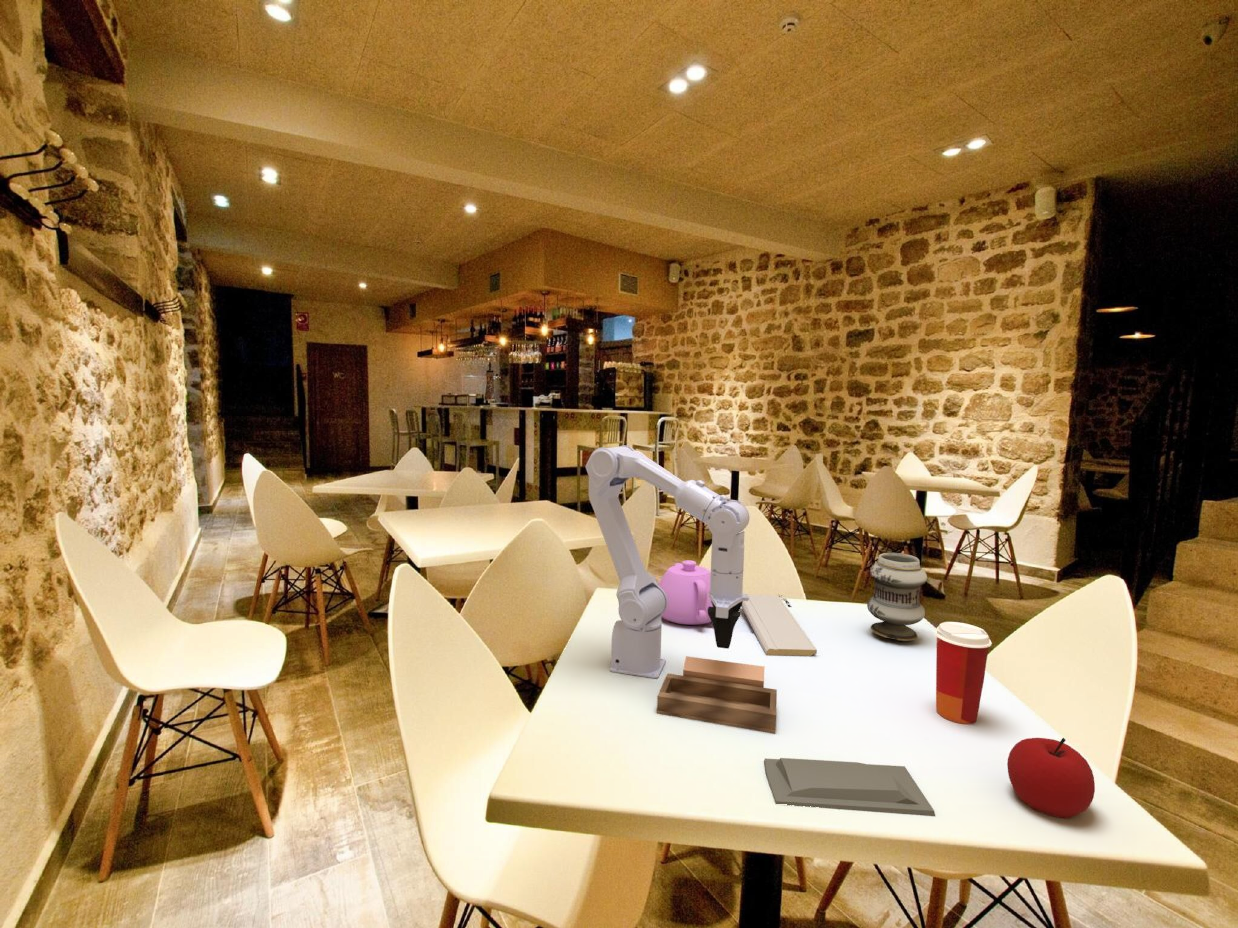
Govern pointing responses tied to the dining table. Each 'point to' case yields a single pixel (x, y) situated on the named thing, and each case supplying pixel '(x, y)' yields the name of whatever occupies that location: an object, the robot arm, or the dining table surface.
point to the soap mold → (845, 786)
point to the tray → (718, 702)
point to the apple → (1051, 777)
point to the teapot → (687, 593)
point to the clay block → (724, 671)
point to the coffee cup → (960, 670)
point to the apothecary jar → (896, 595)
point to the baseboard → (776, 626)
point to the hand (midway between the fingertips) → (724, 642)
